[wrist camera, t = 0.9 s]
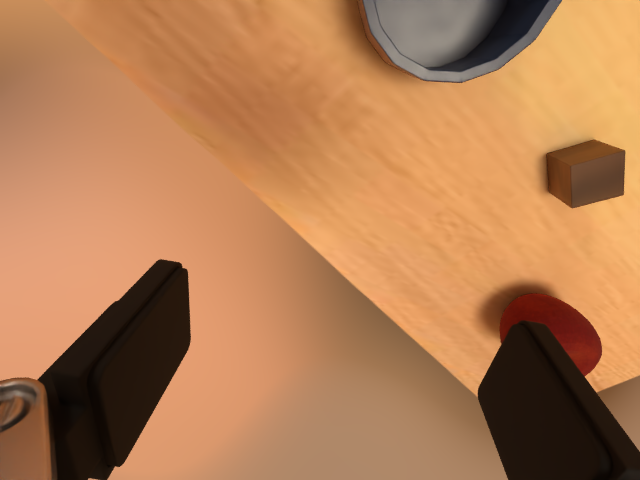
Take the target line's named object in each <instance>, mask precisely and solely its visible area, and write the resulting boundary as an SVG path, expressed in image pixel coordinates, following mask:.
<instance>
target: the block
mask: <svg viewBox="0 0 640 480" xmlns="http://www.w3.org/2000/svg"><path fill="white" fill-rule="evenodd" d="M547 166H548V181H549V193H551V194H552V195H554V196H555V197H556V198H558V199H559V200H561V201H562V202H564V203H565V204H566V205H568V206H569V207H571V208H576V207H579V206H583V205H587V204H591V203H595V202H599V201H603V200H607V199H610V198H614V197H618V196H622V195H624V171H625V150H622V149H619V148H616V147H614V146H611V145H608V144H605V143H602V142H600V141H597V140H592V141H589V142H585V143H582V144H578V145H575V146H572V147H568V148H565V149H562V150H558V151H555V152H551V153H548V154H547Z"/></svg>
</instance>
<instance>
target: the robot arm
mask: <svg viewBox="0 0 640 480" xmlns="http://www.w3.org/2000/svg"><path fill="white" fill-rule="evenodd" d="M189 312H190V310H189V288H188V271H187V269H185V268H182V264H181V263H179V262H174V261H167V260H162V259H161V260H158V261H156V263H155V264H154V265H153V266H152V267H151V268H150V269H149V270H148V271H147V272H146V273H145V274H144V275H143V276H142V277H141V278H140V279H139V280H138V281H137V282H136V283H135V284H134V285H133V286H132V287H131V288H130V289H129V290H128V292H126V293H125V295H124V296H123V297H122V298H121V299H120V300H119V301H115V302H114V303H113V304H112V305H110V306H109V307H108V308H107V309H106V311H104V313H103V314H102V315H101V316H100V317H99V318H98V319H97V320H96V321H95V322H94V323H93V324H92V325H91V326H90V327H89V328H88V329H87V330H86V331H85V332H84V333H83V334H82V335H81V336H80V337H79V338H78V339H77V340H76V341H75V342H74V343H73V344H72V345H71V346H70V347H69V348H68V349H67V350H66V351H65V352H64V353H63V354H62V355H61V356H60V357H59V358H58V359H57V360H56V361H55V362H54V363H53V365H51V366H50V367H49V368H48V369H47V370H46V372H44V374H43V375H42V376H41V377H40V378H39V379H38V380H35V379H31V378H12V379H7V380H3V381H0V480H88V478H92V479H98V480H107V479H108V477H109V476H110V474H111V472H112V471H113V469H114V467H115V466H117V467H120V466H121V465H122V464H123V463H124V462H125V460H126V459H127V457H128V455H129V453H130V452H131V450H132V448H133V446H134V445H135V443H136V441H137V439H138V438H139V436H140V434H141V432H142V431H143V429H144V427H145V425H146V423H147V422H148V420H149V418H150V416H151V415H152V413H153V411H154V409H155V408H156V406H157V404H158V402H159V400H160V399H161V397H162V395H163V393H164V392H165V390H166V388H167V386H168V384H169V383H170V381H171V379H172V377H173V376H174V374H175V372H176V370H177V368H178V367H179V365H180V363H181V361H182V360H183V358H184V356H185V354H186V353H187V351H188V348H189V345H190V340H191V336H190V335H191V334H190V313H189ZM478 399H479V402H480V405H481V408H482V411H483V413H484V416H485V419H486V421H487V424H488V427H489V429H490V432H491V435H492V437H493V440H494V443H495V445H496V448H497V451H498V453H499V456H500V459H501V461H502V464H503V467H504V470H505V472H506V475H507V478H508V480H640V452H639V450H638V449H637V448H636V446H635V445H634V443H633V442H632V441H631V439H630V438H629V437H628V435H627V434H626V433H625V431H624V430H623V428H622V427H621V426H620V424H619V423H618V422H617V420H616V419H615V418H614V416H613V415H612V414H611V412H610V411H609V409H608V408H607V407H606V405H605V404H604V403H603V401H602V400H601V399H600V397H599V396H598V394H597V393H596V392H595V390H594V389H593V388H592V386H591V385H590V384H589V382H588V381H587V380H586V378H585V377H584V375H583V374H582V373H581V371H580V370H579V369H578V367H577V366H576V365H575V363H574V362H573V360H572V359H571V358H570V356H569V355H568V354H567V352H566V351H565V350H564V348H563V347H562V346H561V344H560V343H559V341H558V340H557V339H556V337H555V336H554V335H553V333H552V332H551V331H550V329H549V328H548V327H547V326H546V325H545V324H543V323H538V322H532V321H526V320H521V321H519V322H518V323H517V324H513V325H512V326H511V327H510V329H509V331H508V333H507V335H506V337H505V339H504V341H503V342H502V344H501V346H500V348H499V350H498V352H497V354H496V356H495V358H494V359H493V361H492V363H491V365H490V367H489V369H488V371H487V373H486V375H485V376H484V378H483V380H482V382H481V384H480V386H479V388H478Z"/></svg>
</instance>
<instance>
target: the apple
mask: <svg viewBox="0 0 640 480" xmlns="http://www.w3.org/2000/svg"><path fill="white" fill-rule="evenodd" d="M521 320H526V321H532V322H538V323H543V324H545V325H546V326H547V327H548V328H549V329H550V331H551V332H552V333H553V335H554V336H555V337H556V339H557V340H558V341H559V343H560V344H561V346H562V347H563V348H564V350H565V351H566V352H567V354H568V355H569V356H570V358H571V359H572V360H573V362H574V363H575V365H576V366H577V367H578V369H579V370H580V371H581V373H582V374H583V375H584V376H586V375H587V374H588V373H590V372H591V371H592V370H593V369H594V368H595V366H596V365H597V363H598V362H599V360H600V358H601V355H602V346H601V341H600V338H599V336H598V334H597V332H596V330H595V329H594V327H593V326H592V325H591V323H590V322H589V321H588V320H587V319H586V318H585V317H584V316H583V315H582V314H581V313H579V312H578V311H577V310H576V309H574V308H573V307H571V306H570V305H568V304H566V303H565V302H563V301H561V300H559V299H557V298H554V297H551V296H548V295H544V294H537V293H531V294H526V295H523V296H520V297H518V298H516V299H515V300H513V301H512V302H511V303H510V304H509V305H508V307H507V308H506V309H505V311H504V313H503V315H502V318H501V322H500V339H501V344H502V342H503V341H504V339H505V337H506V335H507V333H508V331H509V329H510V327H511V326H512V325H513V324H517V323H518V322H519V321H521Z"/></svg>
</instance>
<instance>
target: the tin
mask: <svg viewBox="0 0 640 480" xmlns="http://www.w3.org/2000/svg"><path fill="white" fill-rule="evenodd" d="M561 1H562V0H358V7H359V11H360V15H361V19H362V23H363V26H364V30H365V34H366V37H367V39H368V40H369V41H370V43H371V44H372V46H373V47H374V49H375V50H376V51H377V52H378V54H379V55H380V56H381V58H382V59H383V60H384V61H385V62H386V63H388V64H390V65H392V66H393V67H395V68H397V69H399V70H401V71H403V72H404V73H406V74H408V75H410V76H413V77H416V78H418V79H421V80H424V81H434V82H452V83H462V82H465V81H468V80H471V79H474V78H476V77H479V76H482V75H485V74H488V73H491V72H493V71H496V70H498V69H500V68H501V67H503V66H504V65H505V64H506V63H508V62H509V61H510V60H511V59H512V58H514V57H515V56H516V55H517V54H519V53H520V52H521V51H522V50H524V49H525V48H526V47H527V46H529V45H530V44H531V43H532V42H533V41H534V40H536V38H537V37H538V35H539V34H540V32H541V31H542V29H543V28H544V26H545V25H546V23H547V22H548V20H549V19H550V18H551V16H552V15H553V13H554V12H555V10H556V9H557V7H558V6H559V4H560V3H561Z"/></svg>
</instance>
